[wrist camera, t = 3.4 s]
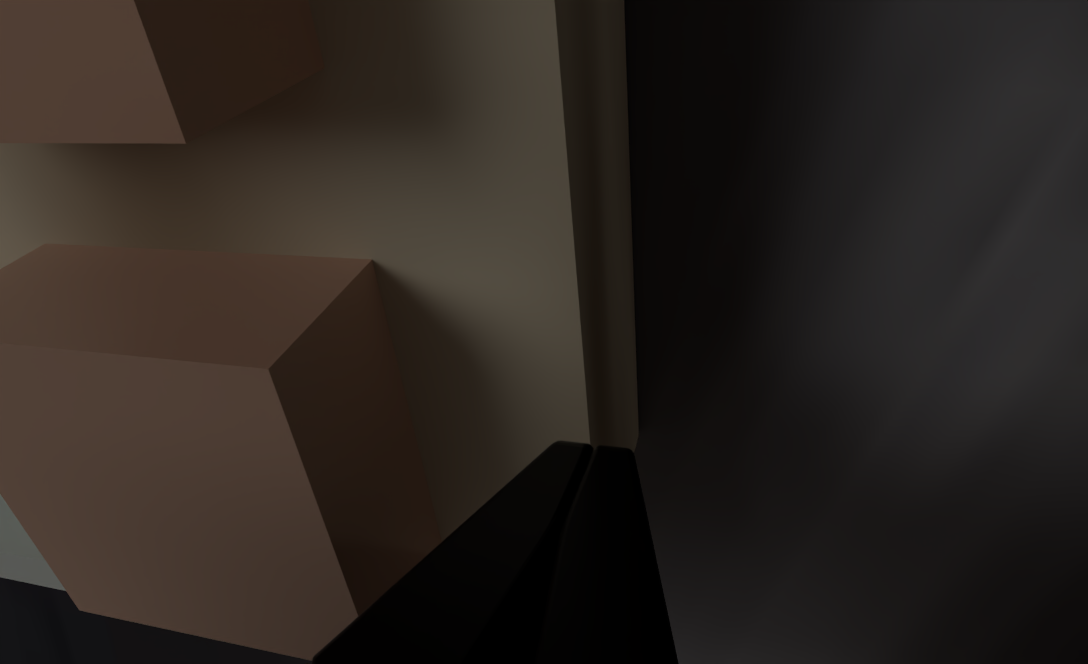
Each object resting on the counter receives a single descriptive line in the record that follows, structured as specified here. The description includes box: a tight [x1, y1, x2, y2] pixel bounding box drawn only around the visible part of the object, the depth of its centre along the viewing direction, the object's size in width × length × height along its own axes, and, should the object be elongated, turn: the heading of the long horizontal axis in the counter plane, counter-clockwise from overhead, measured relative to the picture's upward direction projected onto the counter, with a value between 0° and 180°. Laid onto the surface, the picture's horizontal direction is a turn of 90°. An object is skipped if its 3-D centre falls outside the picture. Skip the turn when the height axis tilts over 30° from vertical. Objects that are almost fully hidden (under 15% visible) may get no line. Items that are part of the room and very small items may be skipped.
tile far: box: [0, 243, 442, 660], centre depth 9 cm, size 4×4×2 cm
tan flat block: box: [0, 0, 639, 541], centre depth 9 cm, size 9×12×3 cm
